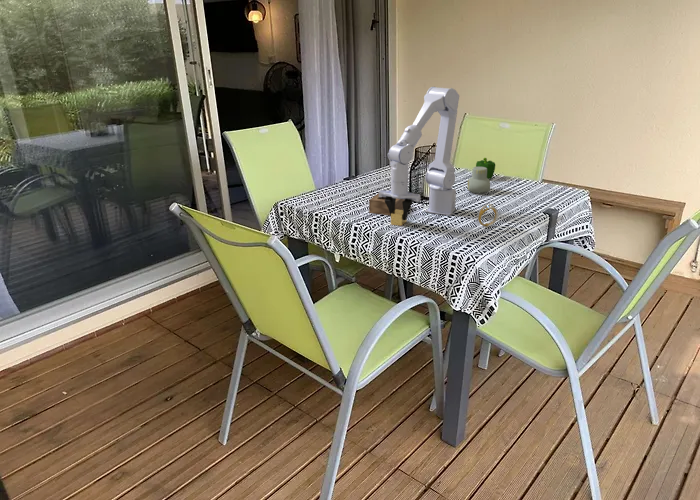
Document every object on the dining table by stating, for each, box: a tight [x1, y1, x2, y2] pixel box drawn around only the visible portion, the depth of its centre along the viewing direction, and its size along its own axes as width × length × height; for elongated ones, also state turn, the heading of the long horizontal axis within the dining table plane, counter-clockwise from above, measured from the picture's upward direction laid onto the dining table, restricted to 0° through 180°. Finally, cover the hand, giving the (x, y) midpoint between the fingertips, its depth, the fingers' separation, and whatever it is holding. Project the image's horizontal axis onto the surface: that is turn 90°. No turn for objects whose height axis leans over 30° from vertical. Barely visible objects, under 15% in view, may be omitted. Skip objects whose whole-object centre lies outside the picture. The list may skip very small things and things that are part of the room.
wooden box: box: [368, 192, 405, 216], centre depth 192 cm, size 10×12×5 cm
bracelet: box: [477, 203, 499, 228], centre depth 173 cm, size 7×3×8 cm, turn 99°
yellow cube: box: [390, 209, 408, 227], centre depth 179 cm, size 4×5×4 cm
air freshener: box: [467, 166, 491, 194], centre depth 210 cm, size 11×8×10 cm
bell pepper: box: [475, 157, 496, 180], centre depth 229 cm, size 8×8×10 cm
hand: (398, 218), depth 179 cm, fingers closed on yellow cube, 4 cm apart
